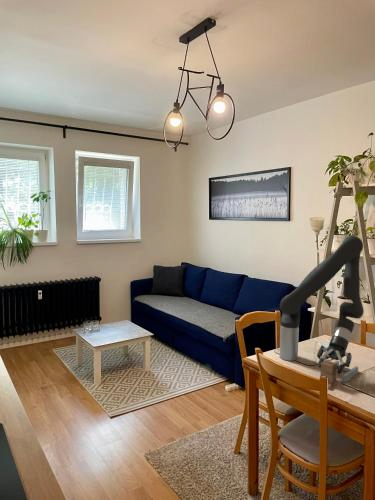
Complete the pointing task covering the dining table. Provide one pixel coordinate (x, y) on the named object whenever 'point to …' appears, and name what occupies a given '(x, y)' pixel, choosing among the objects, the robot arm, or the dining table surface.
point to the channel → (348, 372)
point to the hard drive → (324, 345)
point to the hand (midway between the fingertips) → (328, 370)
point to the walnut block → (329, 372)
